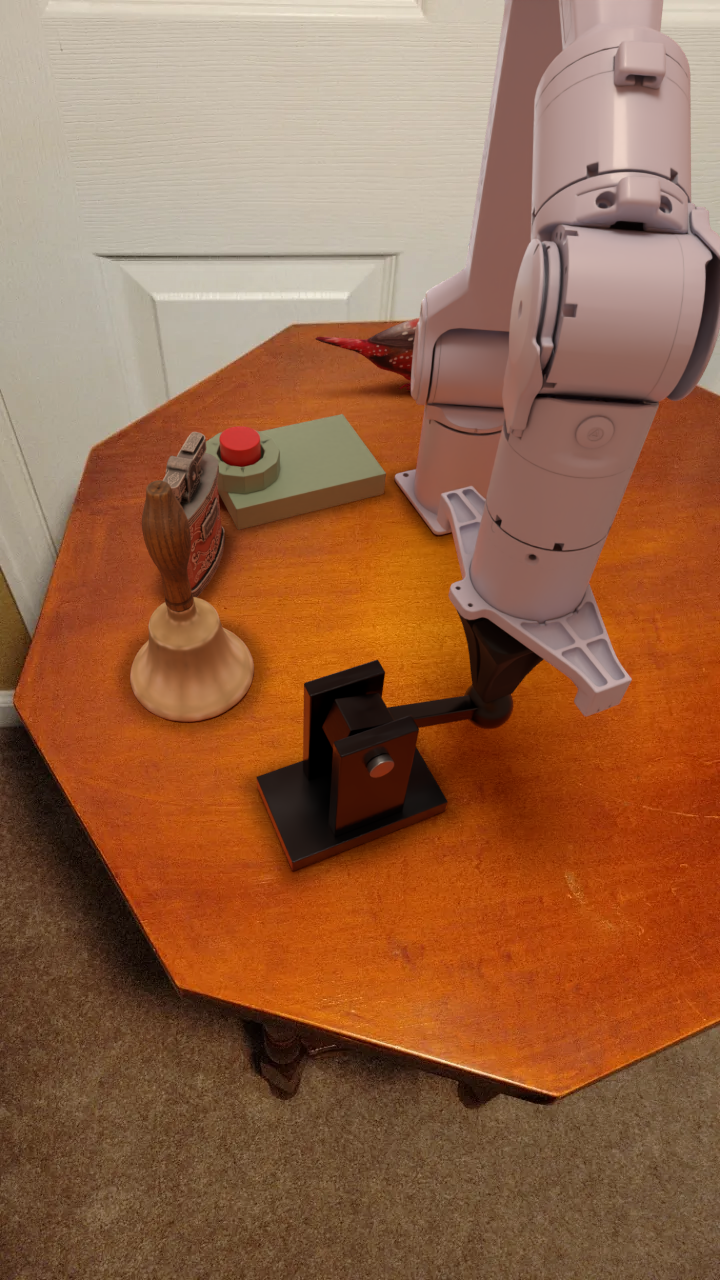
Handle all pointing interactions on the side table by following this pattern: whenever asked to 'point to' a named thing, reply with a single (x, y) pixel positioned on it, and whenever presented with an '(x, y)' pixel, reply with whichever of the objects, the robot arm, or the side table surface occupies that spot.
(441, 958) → the side table surface
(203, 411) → the side table surface
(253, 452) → the button
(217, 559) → the lighter
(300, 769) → the lever base
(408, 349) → the decorative bird figurine
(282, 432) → the button box
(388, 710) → the black lever handle
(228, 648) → the hand bell
